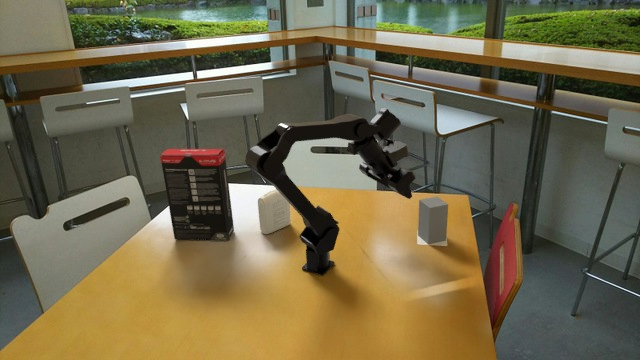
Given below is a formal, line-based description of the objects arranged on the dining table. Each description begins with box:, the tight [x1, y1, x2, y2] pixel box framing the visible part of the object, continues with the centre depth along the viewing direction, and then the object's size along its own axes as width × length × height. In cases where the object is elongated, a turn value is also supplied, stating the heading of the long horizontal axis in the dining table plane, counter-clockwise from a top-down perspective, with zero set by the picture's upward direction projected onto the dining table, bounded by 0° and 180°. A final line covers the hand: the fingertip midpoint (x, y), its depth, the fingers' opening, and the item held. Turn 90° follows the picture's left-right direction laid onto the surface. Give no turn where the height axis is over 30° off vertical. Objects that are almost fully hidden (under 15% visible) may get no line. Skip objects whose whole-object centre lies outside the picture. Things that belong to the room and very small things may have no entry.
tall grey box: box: [417, 196, 449, 244], centre depth 131 cm, size 6×6×11 cm
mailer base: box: [416, 229, 448, 247], centre depth 133 cm, size 8×8×5 cm
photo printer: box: [257, 188, 292, 235], centre depth 144 cm, size 10×4×12 cm, turn 134°
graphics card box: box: [159, 148, 235, 242], centre depth 138 cm, size 17×7×27 cm, turn 84°
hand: (400, 192), depth 131 cm, fingers open, 9 cm apart
